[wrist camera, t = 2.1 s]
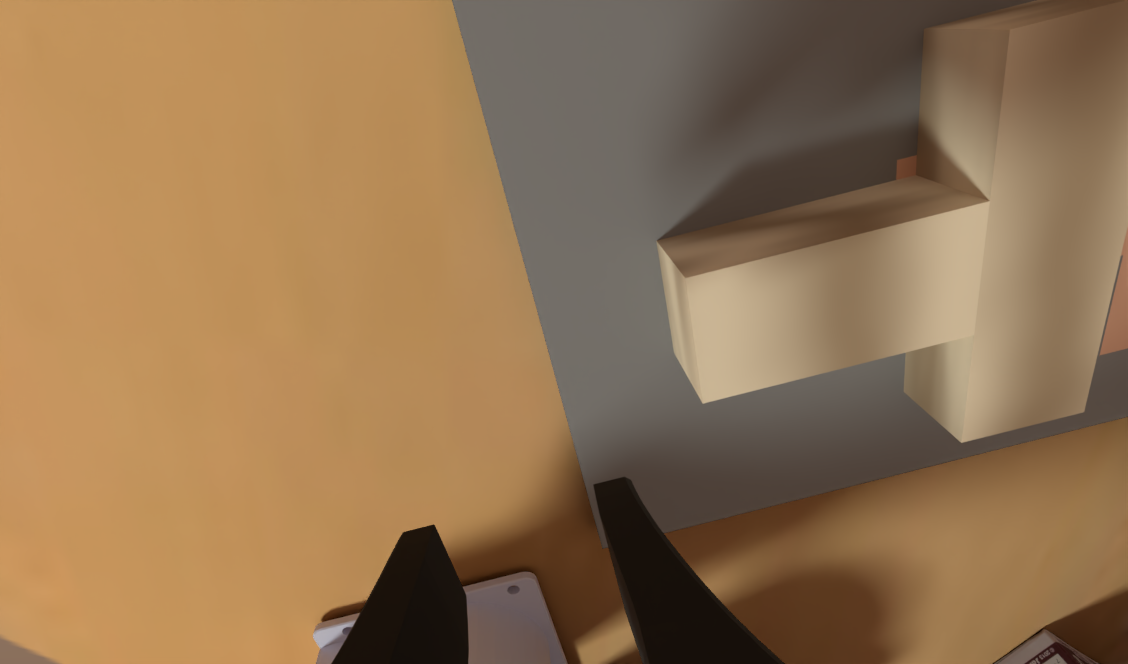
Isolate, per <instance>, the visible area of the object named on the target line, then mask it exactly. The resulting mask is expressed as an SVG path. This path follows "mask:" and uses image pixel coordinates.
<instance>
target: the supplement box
mask: <svg viewBox="0 0 1128 664" xmlns="http://www.w3.org/2000/svg"><path fill="white" fill-rule="evenodd" d="M994 664H1099V663H1097V662H1095V661H1094V660H1092V659H1090V658H1089V657H1087V656H1085V655H1084V654H1082V653H1080V652H1079V651H1077V650H1076V649H1074V648H1073V647H1071V646H1070V645H1068V644H1067V643H1065V642H1064V641H1062V640H1061V639H1059V638H1058V637H1056V636H1055V635H1054V634H1052V633H1051V632H1049V631H1048V630H1046V629H1043V630H1042V631H1040V632H1039V633H1038V634H1036V635H1035V636H1033V637H1032V638H1030V639H1029V640H1027V641H1026V642H1024V643H1023V644H1022V645H1020V646H1019V647H1017V648H1016V649H1015V650H1013V651H1012V652H1010V653H1009V654H1007V655H1006V656H1005V657H1003V658H1002V659H1000V660H999V661H997V662H996V663H994Z"/></svg>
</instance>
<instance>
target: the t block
mask: <svg viewBox="0 0 1128 664" xmlns="http://www.w3.org/2000/svg"><path fill="white" fill-rule="evenodd" d="M1127 227H1128V0H1036V1H1032V2H1028V3H1024V4H1020V5H1016V6H1012V7H1008V8H1004V9H1000V10H996V11H992V12H988V13H985V14H981V15H977V16H973V17H969V18H965V19H961V20H957V21H953V22H949V23H945V24H941V25H937V26H933V27H930V28H926V29H924V37H923V55H922V73H921V90H920V108H919V126H918V144H917V161H916V175H914V176H910V177H906V178H902V179H898V180H894V181H890V182H886V183H882V184H879V185H875V186H871V187H867V188H863V189H859V190H855V191H851V192H847V193H843V194H839V195H835V196H831V197H827V198H823V199H819V200H815V201H811V202H808V203H804V204H800V205H796V206H792V207H788V208H784V209H780V210H776V211H772V212H768V213H764V214H760V215H756V216H752V217H748V218H744V219H740V220H737V221H733V222H729V223H725V224H721V225H717V226H713V227H709V228H705V229H701V230H697V231H693V232H689V233H685V234H681V235H677V236H673V237H669V238H665V239H662V240H658V241H656V242H657V248H658V254H659V261H660V267H661V273H662V280H663V286H664V292H665V299H666V305H667V311H668V318H669V324H670V330H671V337H672V343H673V349H674V354H675V355H676V357H677V359H678V361H679V363H680V364H681V366H682V368H683V370H684V371H685V373H686V375H687V377H688V378H689V380H690V382H691V384H692V386H693V387H694V389H695V391H696V393H697V394H698V396H699V398H700V400H701V402H702V403H707V402H711V401H715V400H719V399H723V398H727V397H731V396H735V395H739V394H743V393H747V392H751V391H755V390H759V389H763V388H767V387H771V386H775V385H779V384H783V383H787V382H791V381H795V380H799V379H803V378H806V377H810V376H814V375H818V374H822V373H826V372H830V371H834V370H838V369H842V368H846V367H850V366H854V365H858V364H862V363H866V362H870V361H874V360H878V359H882V358H886V357H890V356H894V355H898V354H902V353H906V357H905V375H904V393H906V394H907V395H908V396H909V397H910V398H911V399H912V400H913V401H915V402H916V403H917V404H918V405H919V406H920V407H921V408H922V409H924V410H925V411H926V412H927V413H928V414H929V415H930V416H932V417H933V418H934V419H935V420H936V421H937V422H938V423H939V424H941V425H942V426H943V427H944V428H945V429H946V430H947V431H948V432H950V433H951V434H952V435H953V436H954V437H955V438H956V439H958V440H959V441H960V442H961V443H963V442H967V441H971V440H975V439H979V438H983V437H987V436H991V435H995V434H999V433H1003V432H1007V431H1011V430H1015V429H1019V428H1023V427H1027V426H1031V425H1035V424H1039V423H1043V422H1047V421H1051V420H1055V419H1059V418H1063V417H1067V416H1071V415H1075V414H1079V413H1083V412H1084V411H1085V406H1086V402H1087V398H1088V394H1089V389H1090V385H1091V381H1092V377H1093V372H1094V368H1095V364H1096V359H1097V355H1098V351H1099V347H1100V342H1101V338H1102V334H1103V330H1104V325H1105V321H1106V317H1107V313H1108V308H1109V304H1110V300H1111V295H1112V291H1113V287H1114V283H1115V278H1116V274H1117V270H1118V266H1119V261H1120V257H1121V253H1122V249H1123V244H1124V240H1125V236H1126V232H1127Z"/></svg>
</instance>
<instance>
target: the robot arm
mask: <svg viewBox="0 0 1128 664" xmlns="http://www.w3.org/2000/svg"><path fill="white" fill-rule="evenodd" d="M593 486H594V491H595V496H596V501H597V505H598V510H599V514H600V518H601V522H602V526H603V529H604V533H605V537H606V540H607V544H608V548H609V552H610V555H611V559H612V563H613V567H614V570H615V574H616V578H617V582H618V585H619V589H620V593H621V597H622V600H623V604H624V608H625V611H626V614H627V617H628V620H629V623H630V626H631V629H632V632H633V635H634V638H635V641H636V644H637V647H638V650H639V653H640V656H641V659H642V662H643V664H784V663H783V662H782V661H781V660H780V659H779V658H778V657H777V656H776V655H775V654H773V653H772V652H771V651H770V650H769V649H768V648H767V647H766V646H765V645H764V644H763V643H761V642H760V641H759V640H758V639H757V638H756V637H755V636H754V635H753V634H752V633H751V632H750V631H749V630H748V629H747V628H746V627H745V626H744V625H743V624H742V623H741V622H740V621H739V620H738V619H737V618H736V617H735V616H734V615H733V614H732V613H731V612H730V611H729V610H728V609H727V608H726V607H725V606H724V605H723V604H722V603H721V601H720V600H719V599H718V598H717V597H716V596H715V595H714V594H713V593H712V592H711V590H710V589H709V588H708V587H707V586H706V585H705V584H704V583H703V582H702V580H701V579H700V578H699V577H698V576H697V575H696V574H695V572H694V571H693V570H692V569H691V568H690V566H689V565H688V564H687V563H686V562H685V560H684V559H683V558H682V557H681V555H680V554H679V553H678V551H677V550H676V549H675V548H674V546H673V545H672V544H671V543H670V541H669V540H668V539H667V537H666V536H665V535H664V533H663V532H662V531H661V529H660V528H659V526H658V525H657V524H656V522H655V521H654V519H653V518H652V516H651V515H650V513H649V512H648V510H647V509H646V507H645V505H644V504H643V502H642V500H641V499H640V497H639V495H638V493H637V491H636V489H635V487H634V485H633V483H632V481H631V480H630V479H628V478H626V477H621V478H617V479H613V480H609V481H605V482H601V483H597V484H593ZM511 586H512V587H511ZM313 638H314V640H315V641H316V643H317V644H318V646H319V647H320V651H319V654H318V658H317V662H316V664H568V663H567V660H566V658H565V655H564V652H563V649H562V646H561V644H560V641H559V638H558V635H557V633H556V630H555V627H554V624H553V622H552V619H551V616H550V613H549V610H548V608H547V605H546V602H545V599H544V597H543V594H542V591H541V588H540V586H539V583H538V580H537V577H536V576H535V574H533V573H531V572H527V571H526V572H520V573H516V574H512V575H508V576H504V577H500V578H496V579H492V580H488V581H484V582H480V583H476V584H472V585H468V586H464V587H462V585H461V582H460V580H459V578H458V576H457V574H456V571H455V569H454V567H453V565H452V562H451V560H450V558H449V556H448V554H447V551H446V549H445V547H444V545H443V543H442V540H441V538H440V536H439V534H438V532H437V529H436V527H435V525H430V526H426V527H422V528H418V529H414V530H410V531H406V532H403V534H402V535H401V537H400V538H399V540H398V542H397V544H396V546H395V548H394V550H393V552H392V554H391V555H390V557H389V559H388V561H387V563H386V565H385V567H384V569H383V571H382V573H381V575H380V577H379V579H378V581H377V583H376V585H375V586H374V588H373V590H372V592H371V594H370V596H369V598H368V600H367V602H366V603H365V605H364V607H363V609H362V611H361V612H360V613H357V614H353V615H349V616H345V617H341V618H337V619H333V620H329V621H325V622H322V623H319V624H318V625H317V626H316V627H315V631H314V634H313Z"/></svg>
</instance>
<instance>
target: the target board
mask: <svg viewBox="0 0 1128 664" xmlns="http://www.w3.org/2000/svg"><path fill="white" fill-rule="evenodd" d="M1032 1H1036V0H452V2H453V6H454V9H455V13H456V17H457V20H458V24H459V28H460V31H461V35H462V39H463V42H464V46H465V49H466V53H467V57H468V60H469V64H470V68H471V71H472V75H473V79H474V82H475V86H476V90H477V93H478V97H479V100H480V104H481V108H482V111H483V115H484V119H485V122H486V126H487V130H488V133H489V137H490V141H491V144H492V148H493V151H494V155H495V159H496V162H497V166H498V170H499V173H500V177H501V181H502V184H503V188H504V192H505V195H506V199H507V202H508V206H509V210H510V213H511V217H512V221H513V224H514V228H515V232H516V235H517V239H518V243H519V246H520V250H521V253H522V257H523V261H524V264H525V268H526V272H527V275H528V279H529V283H530V286H531V290H532V294H533V297H534V301H535V304H536V308H537V312H538V315H539V319H540V323H541V326H542V330H543V334H544V337H545V341H546V345H547V348H548V352H549V355H550V359H551V363H552V366H553V370H554V374H555V377H556V381H557V385H558V388H559V392H560V396H561V399H562V403H563V407H564V410H565V414H566V417H567V421H568V425H569V428H570V432H571V436H572V439H573V443H574V447H575V450H576V454H577V458H578V461H579V465H580V468H581V472H582V476H583V479H584V483H585V487H586V490H587V494H588V498H589V501H590V505H591V509H592V512H593V516H594V519H595V523H596V527H597V530H598V534H599V538H600V541H601V545H602V549H604V548H608V544H607V540H606V537H605V533H604V529H603V526H602V522H601V518H600V514H599V510H598V505H597V501H596V496H595V491H594V486H593V484H597V483H601V482H605V481H609V480H613V479H617V478H621V477H626V478H628V479H630V480H631V481H632V483H633V485H634V487H635V489H636V491H637V493H638V495H639V497H640V499H641V500H642V502H643V504H644V505H645V507H646V509H647V510H648V512H649V513H650V515H651V516H652V518H653V519H654V521H655V522H656V524H657V525H658V526H659V528H660V529H661V531H662V532H663V533H667V532H671V531H675V530H679V529H683V528H687V527H691V526H695V525H699V524H703V523H707V522H711V521H715V520H719V519H723V518H727V517H731V516H735V515H739V514H743V513H747V512H751V511H755V510H759V509H763V508H767V507H771V506H775V505H779V504H783V503H787V502H791V501H795V500H799V499H803V498H807V497H811V496H815V495H819V494H823V493H826V492H830V491H834V490H838V489H842V488H846V487H850V486H854V485H858V484H862V483H866V482H870V481H874V480H878V479H882V478H886V477H890V476H894V475H898V474H902V473H906V472H910V471H914V470H918V469H922V468H926V467H930V466H934V465H938V464H942V463H946V462H950V461H954V460H958V459H962V458H966V457H970V456H974V455H978V454H982V453H986V452H990V451H994V450H998V449H1002V448H1006V447H1010V446H1014V445H1018V444H1021V443H1025V442H1029V441H1033V440H1037V439H1041V438H1045V437H1049V436H1053V435H1057V434H1061V433H1065V432H1069V431H1073V430H1077V429H1081V428H1085V427H1089V426H1093V425H1097V424H1101V423H1105V422H1109V421H1113V420H1117V419H1121V418H1125V417H1128V227H1127V232H1126V236H1125V240H1124V244H1123V249H1122V253H1121V257H1120V261H1119V266H1118V270H1117V274H1116V278H1115V283H1114V287H1113V291H1112V295H1111V300H1110V304H1109V308H1108V313H1107V317H1106V321H1105V325H1104V330H1103V334H1102V338H1101V342H1100V347H1099V351H1098V355H1097V359H1096V364H1095V368H1094V372H1093V377H1092V381H1091V385H1090V389H1089V394H1088V398H1087V402H1086V406H1085V411H1084V412H1083V413H1079V414H1075V415H1071V416H1067V417H1063V418H1059V419H1055V420H1051V421H1047V422H1043V423H1039V424H1035V425H1031V426H1027V427H1023V428H1019V429H1015V430H1011V431H1007V432H1003V433H999V434H995V435H991V436H987V437H983V438H979V439H975V440H971V441H967V442H963V443H961V442H960V441H959V440H958V439H956V438H955V437H954V436H953V435H952V434H951V433H950V432H948V431H947V430H946V429H945V428H944V427H943V426H942V425H941V424H939V423H938V422H937V421H936V420H935V419H934V418H933V417H932V416H930V415H929V414H928V413H927V412H926V411H925V410H924V409H922V408H921V407H920V406H919V405H918V404H917V403H916V402H915V401H913V400H912V399H911V398H910V397H909V396H908V395H907V394H906V393H904V375H905V357H906V353H902V354H898V355H894V356H890V357H886V358H882V359H878V360H874V361H870V362H866V363H862V364H858V365H854V366H850V367H846V368H842V369H838V370H834V371H830V372H826V373H822V374H818V375H814V376H810V377H806V378H803V379H799V380H795V381H791V382H787V383H783V384H779V385H775V386H771V387H767V388H763V389H759V390H755V391H751V392H747V393H743V394H739V395H735V396H731V397H727V398H723V399H719V400H715V401H711V402H707V403H702V402H701V400H700V398H699V396H698V394H697V393H696V391H695V389H694V387H693V386H692V384H691V382H690V380H689V378H688V377H687V375H686V373H685V371H684V370H683V368H682V366H681V364H680V363H679V361H678V359H677V357H676V355H675V354H674V349H673V343H672V337H671V330H670V324H669V318H668V311H667V305H666V299H665V292H664V286H663V280H662V273H661V267H660V261H659V254H658V248H657V242H656V241H658V240H662V239H665V238H669V237H673V236H677V235H681V234H685V233H689V232H693V231H697V230H701V229H705V228H709V227H713V226H717V225H721V224H725V223H729V222H733V221H737V220H740V219H744V218H748V217H752V216H756V215H760V214H764V213H768V212H772V211H776V210H780V209H784V208H788V207H792V206H796V205H800V204H804V203H808V202H811V201H815V200H819V199H823V198H827V197H831V196H835V195H839V194H843V193H847V192H851V191H855V190H859V189H863V188H867V187H871V186H875V185H879V184H882V183H886V182H890V181H894V180H898V179H902V178H906V177H910V176H914V175H916V161H917V144H918V126H919V108H920V90H921V73H922V55H923V37H924V29H926V28H930V27H933V26H937V25H941V24H945V23H949V22H953V21H957V20H961V19H965V18H969V17H973V16H977V15H981V14H985V13H988V12H992V11H996V10H1000V9H1004V8H1008V7H1012V6H1016V5H1020V4H1024V3H1028V2H1032Z"/></svg>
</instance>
